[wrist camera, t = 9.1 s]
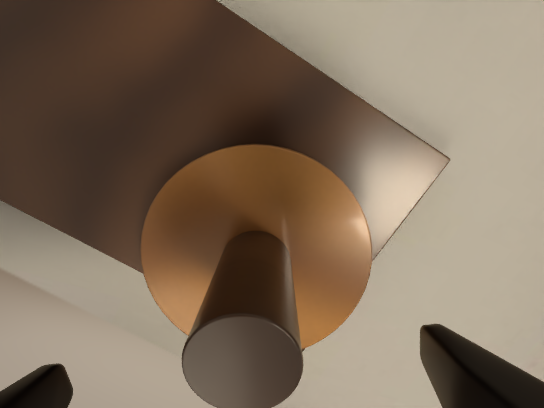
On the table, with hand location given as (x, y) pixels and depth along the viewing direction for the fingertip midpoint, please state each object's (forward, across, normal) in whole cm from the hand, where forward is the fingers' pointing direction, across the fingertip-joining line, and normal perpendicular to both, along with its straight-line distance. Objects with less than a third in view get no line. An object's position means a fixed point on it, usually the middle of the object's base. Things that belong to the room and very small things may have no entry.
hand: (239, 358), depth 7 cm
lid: (+6, 0, 0) cm, 6 cm away
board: (+7, +4, -6) cm, 10 cm away
